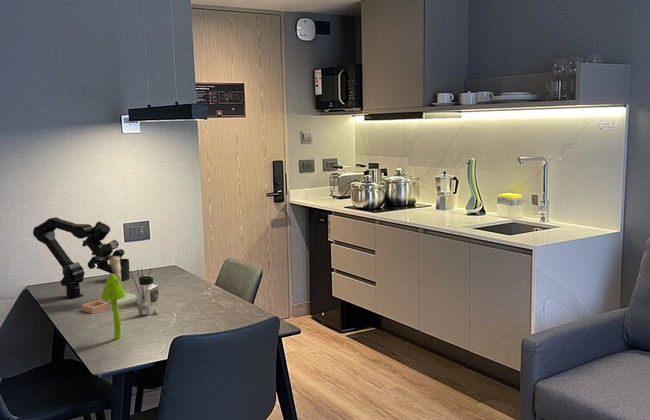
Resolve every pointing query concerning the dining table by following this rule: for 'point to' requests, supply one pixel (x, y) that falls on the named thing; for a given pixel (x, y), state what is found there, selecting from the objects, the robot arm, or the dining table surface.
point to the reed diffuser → (144, 300)
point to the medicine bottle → (151, 290)
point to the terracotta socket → (95, 306)
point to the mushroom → (114, 300)
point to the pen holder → (124, 269)
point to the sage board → (123, 299)
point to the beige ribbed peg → (116, 266)
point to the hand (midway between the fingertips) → (117, 272)
